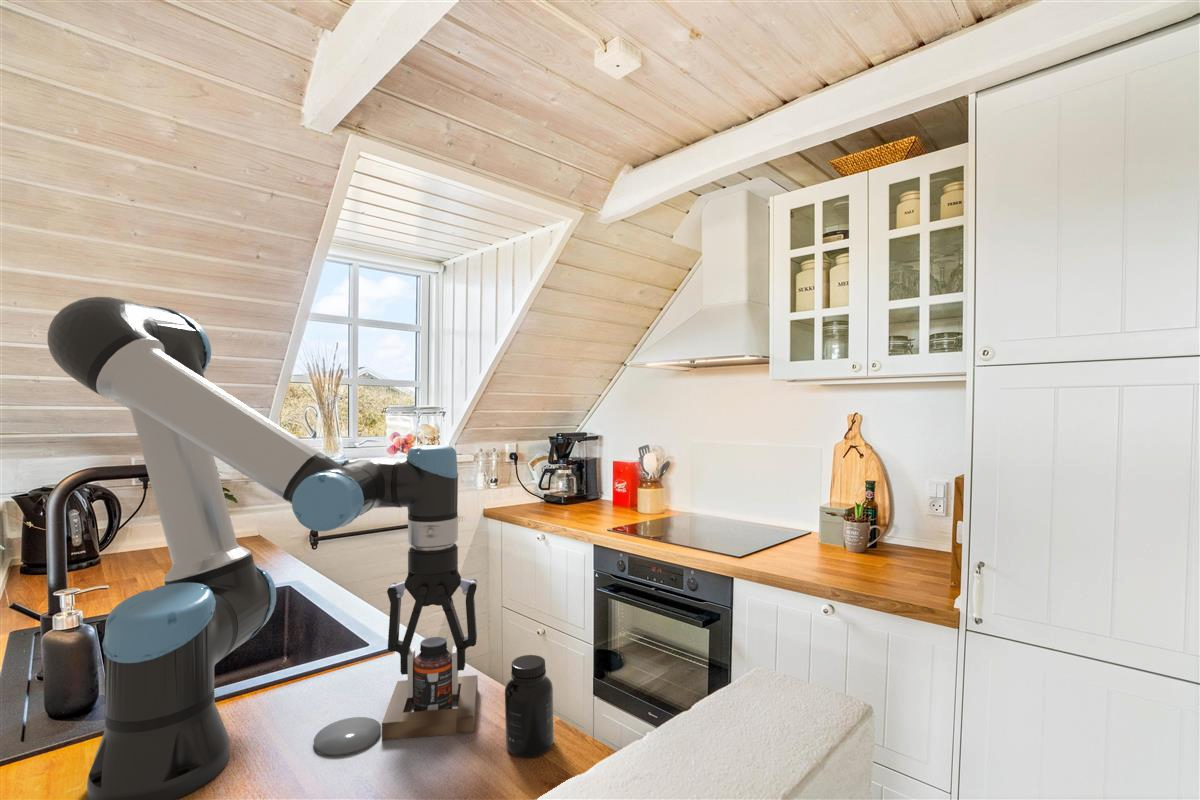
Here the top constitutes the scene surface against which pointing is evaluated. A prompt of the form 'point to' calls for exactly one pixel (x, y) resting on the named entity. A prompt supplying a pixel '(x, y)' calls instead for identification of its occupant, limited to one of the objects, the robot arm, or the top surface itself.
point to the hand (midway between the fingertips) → (433, 691)
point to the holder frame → (430, 713)
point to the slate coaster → (347, 736)
